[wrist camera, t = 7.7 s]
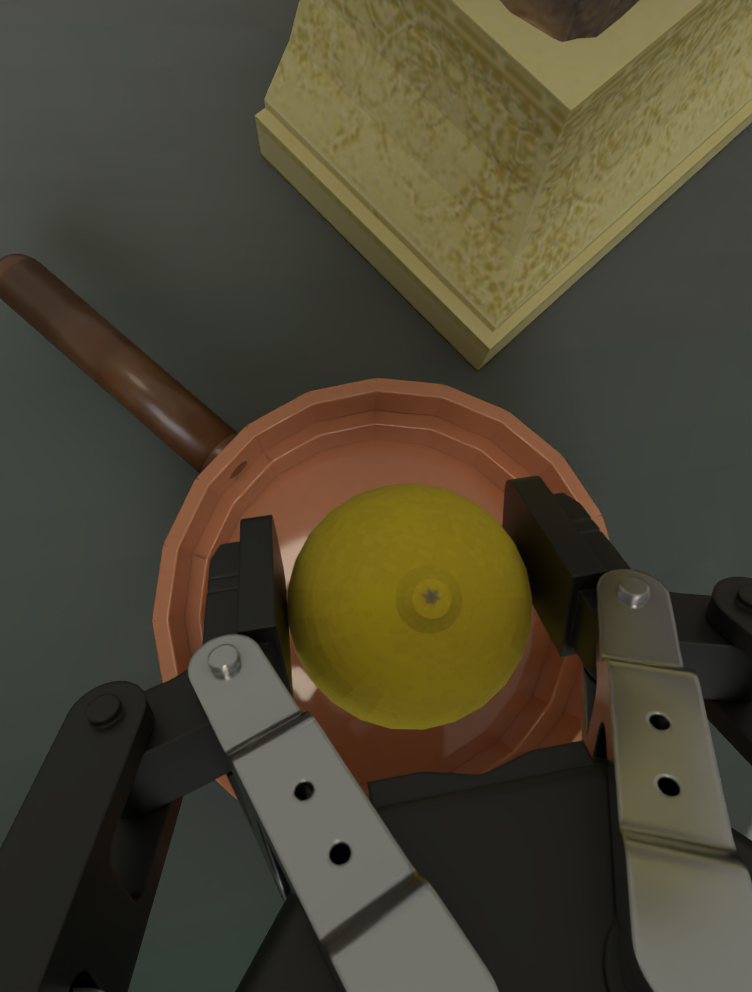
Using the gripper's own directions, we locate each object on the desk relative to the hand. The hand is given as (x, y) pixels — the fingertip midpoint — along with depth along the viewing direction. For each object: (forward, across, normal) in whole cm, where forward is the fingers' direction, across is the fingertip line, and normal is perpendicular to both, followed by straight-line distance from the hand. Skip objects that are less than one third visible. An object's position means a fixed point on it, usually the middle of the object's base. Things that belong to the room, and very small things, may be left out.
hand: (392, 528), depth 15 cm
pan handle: (+10, +8, -1) cm, 12 cm away
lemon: (+2, 0, +4) cm, 5 cm away
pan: (+5, 0, +7) cm, 9 cm away
